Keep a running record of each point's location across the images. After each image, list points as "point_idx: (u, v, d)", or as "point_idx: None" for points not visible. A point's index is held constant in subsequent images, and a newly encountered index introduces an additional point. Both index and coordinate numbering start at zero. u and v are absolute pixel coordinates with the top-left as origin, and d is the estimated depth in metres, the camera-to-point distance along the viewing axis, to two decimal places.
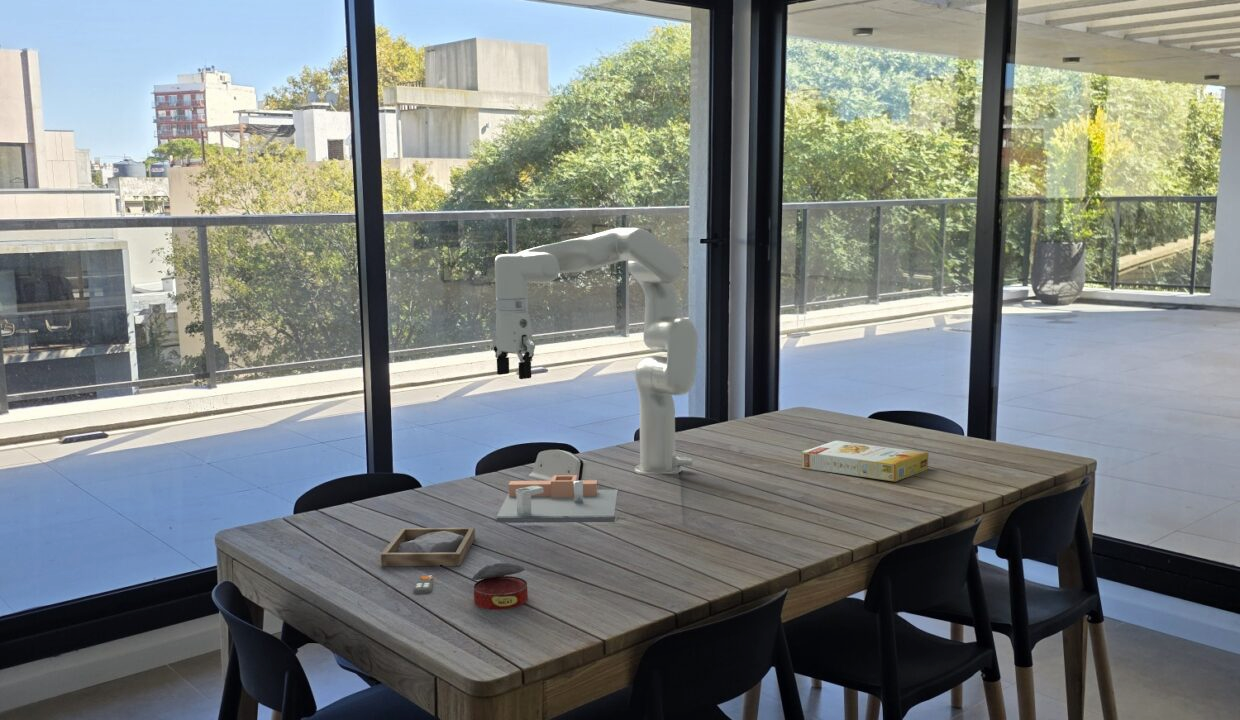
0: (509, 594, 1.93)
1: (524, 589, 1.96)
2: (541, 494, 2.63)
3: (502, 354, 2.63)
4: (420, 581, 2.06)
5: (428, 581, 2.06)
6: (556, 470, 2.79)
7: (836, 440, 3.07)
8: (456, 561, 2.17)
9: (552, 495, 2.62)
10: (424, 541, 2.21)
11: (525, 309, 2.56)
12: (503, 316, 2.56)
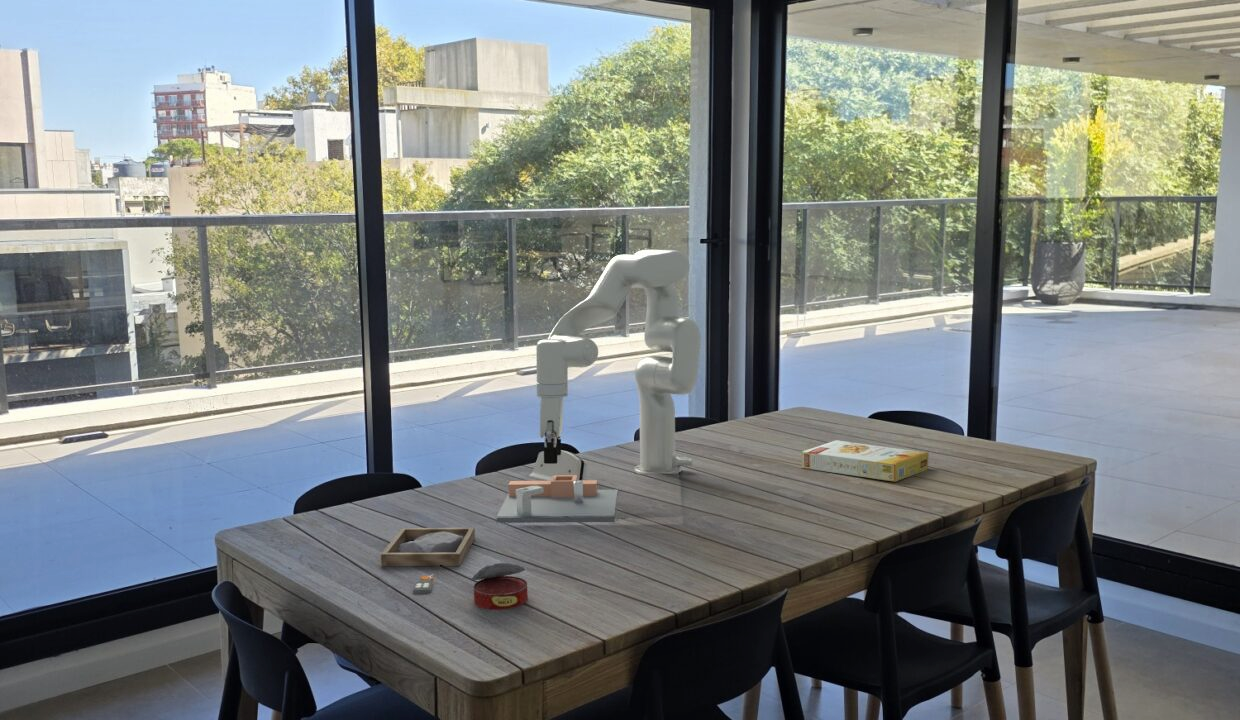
0: (509, 594, 1.93)
1: (524, 589, 1.96)
2: (541, 494, 2.63)
3: None
4: (420, 581, 2.06)
5: (428, 581, 2.06)
6: (557, 470, 2.79)
7: (836, 440, 3.07)
8: (456, 561, 2.17)
9: (552, 495, 2.62)
10: (424, 542, 2.20)
11: None
12: (562, 399, 2.61)
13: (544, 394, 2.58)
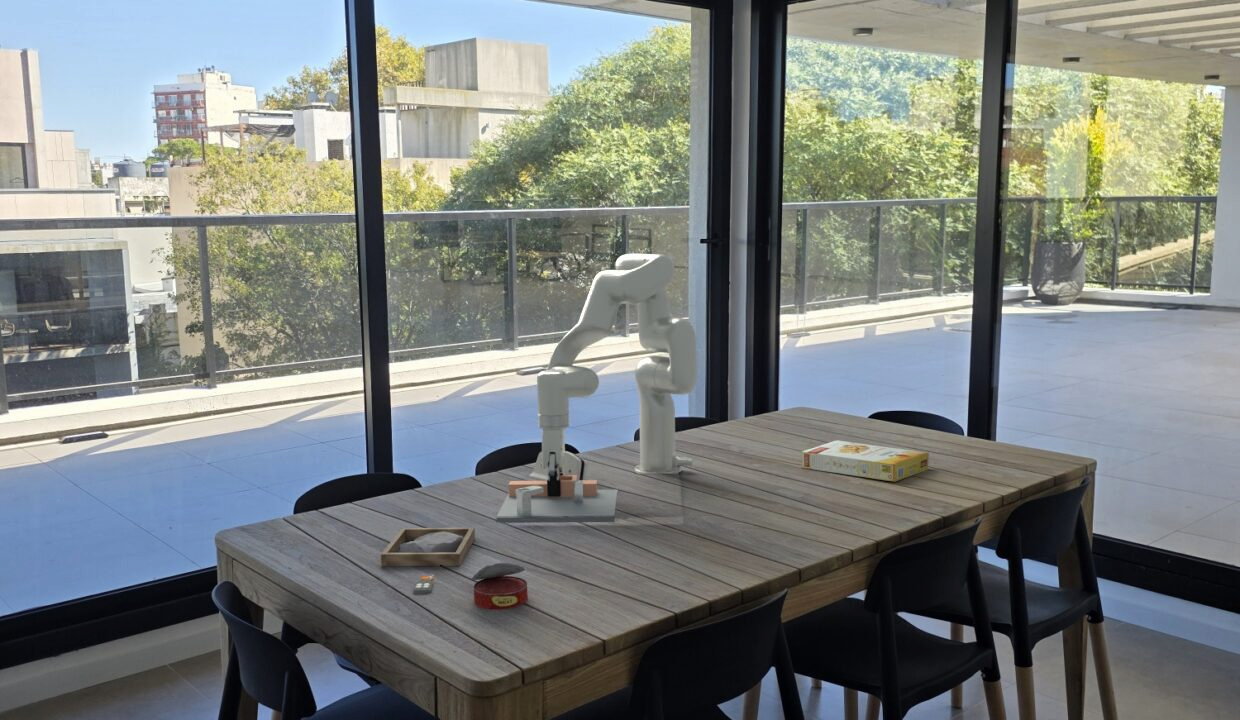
0: (509, 594, 1.93)
1: (524, 589, 1.96)
2: (541, 494, 2.63)
3: None
4: (420, 581, 2.06)
5: (428, 581, 2.06)
6: None
7: (837, 440, 3.07)
8: (456, 561, 2.17)
9: None
10: (424, 542, 2.20)
11: None
12: None
13: (546, 426, 2.59)
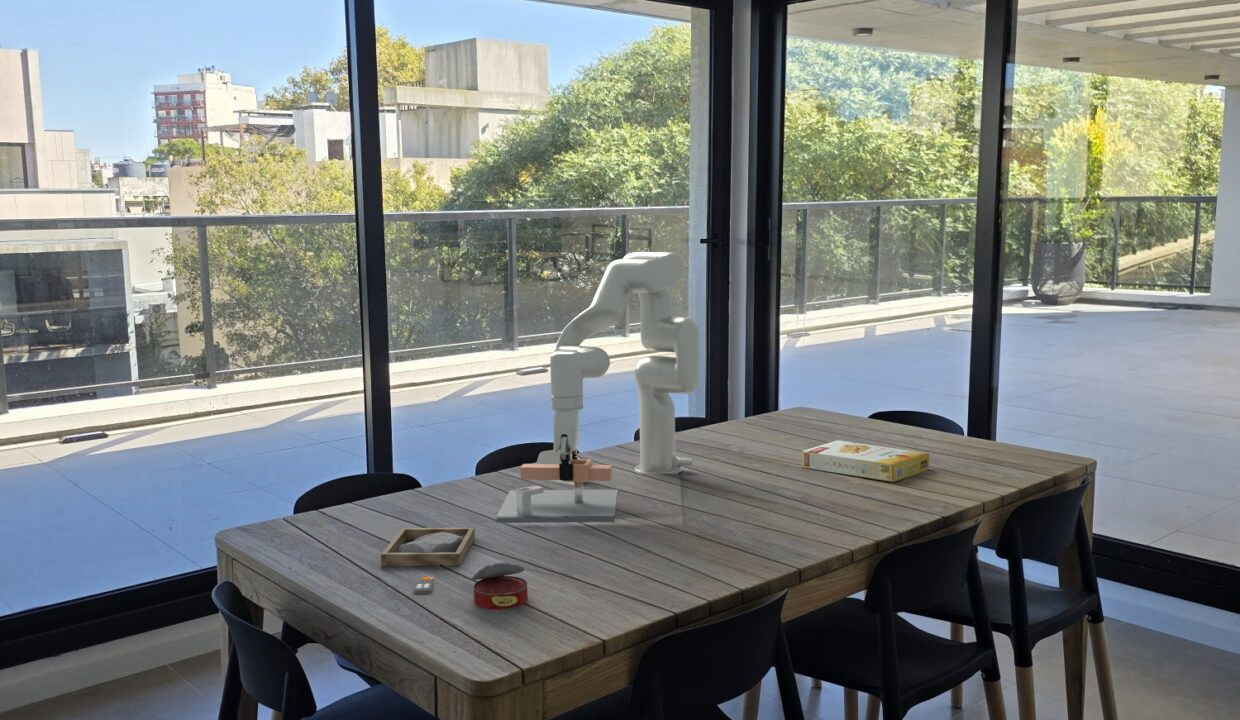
0: (509, 594, 1.93)
1: (524, 589, 1.96)
2: (553, 478, 2.56)
3: None
4: (421, 582, 2.06)
5: (429, 582, 2.06)
6: None
7: (838, 440, 3.07)
8: (456, 561, 2.17)
9: None
10: (425, 542, 2.20)
11: None
12: (578, 412, 2.55)
13: (558, 407, 2.52)
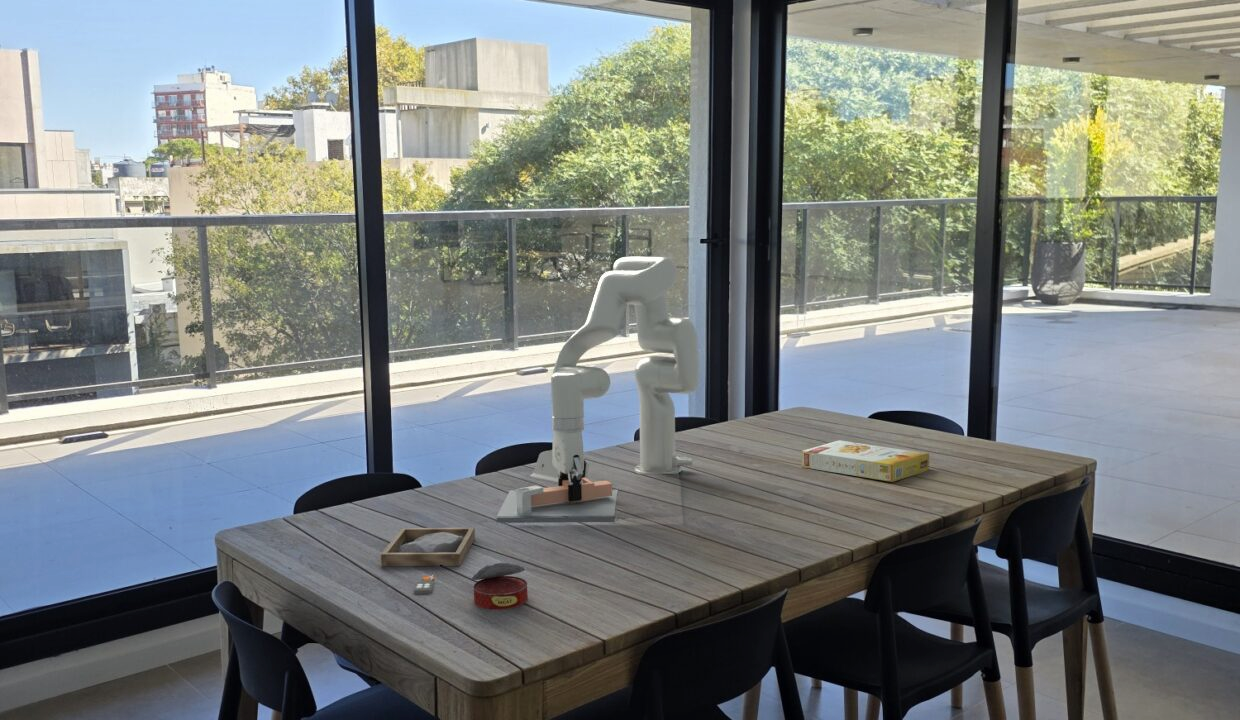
0: (509, 594, 1.93)
1: (524, 589, 1.96)
2: (559, 500, 2.54)
3: None
4: (421, 582, 2.06)
5: (429, 582, 2.06)
6: None
7: (839, 440, 3.07)
8: (456, 561, 2.17)
9: None
10: (425, 542, 2.20)
11: None
12: None
13: (566, 429, 2.51)
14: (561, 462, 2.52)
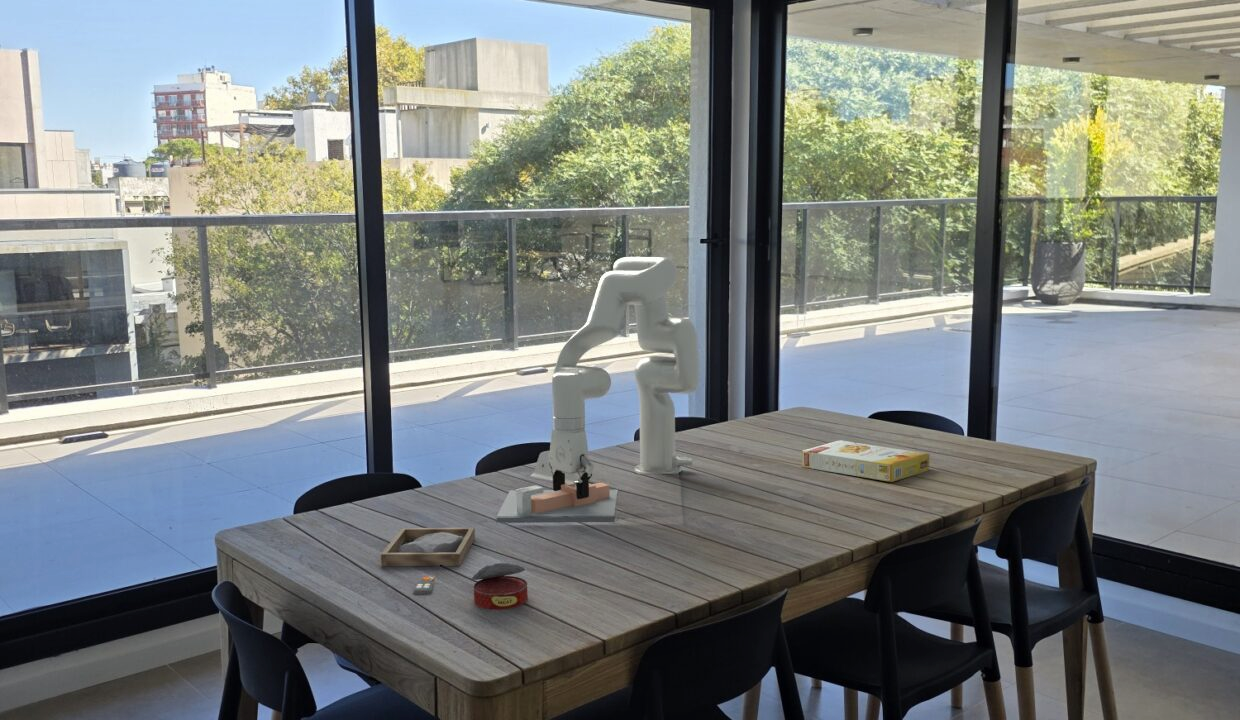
0: (509, 594, 1.93)
1: (524, 589, 1.96)
2: (564, 505, 2.53)
3: None
4: (421, 582, 2.06)
5: (429, 582, 2.06)
6: None
7: (840, 440, 3.07)
8: (456, 561, 2.17)
9: (577, 504, 2.54)
10: (425, 543, 2.20)
11: None
12: None
13: (572, 429, 2.50)
14: (566, 462, 2.51)
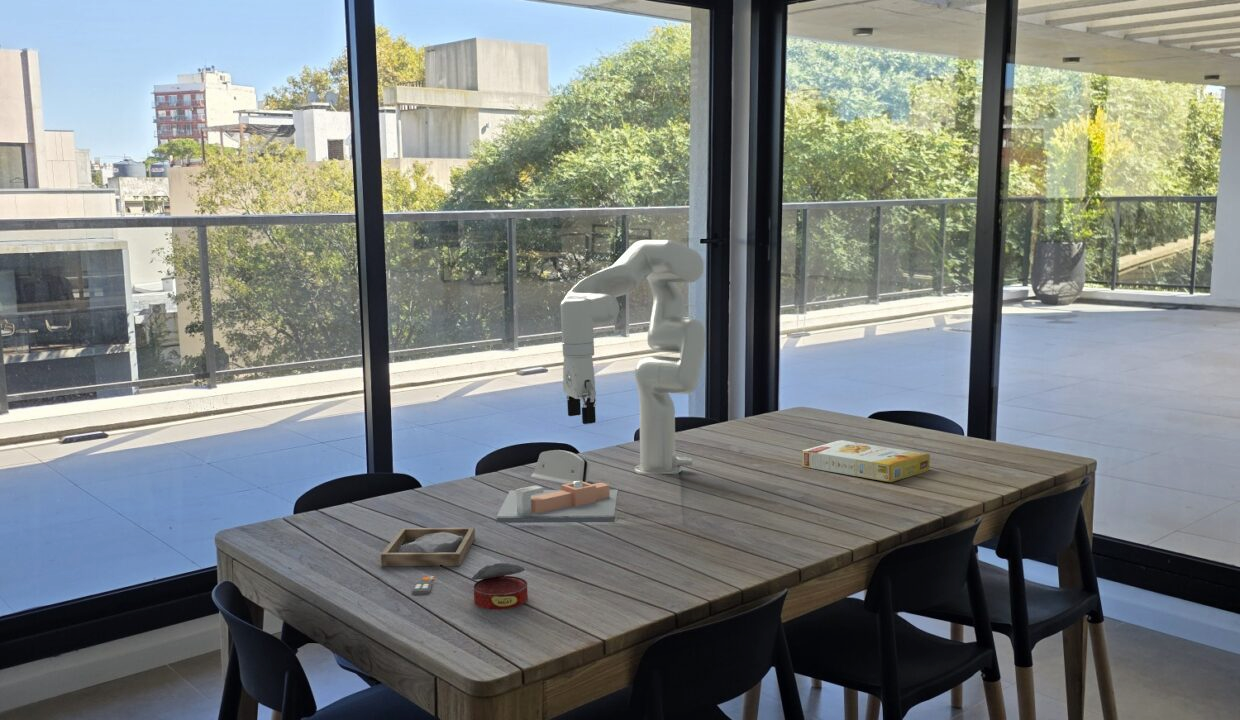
0: (509, 594, 1.93)
1: (524, 589, 1.96)
2: (564, 505, 2.53)
3: None
4: (420, 582, 2.06)
5: (428, 582, 2.05)
6: (559, 470, 2.78)
7: (841, 440, 3.07)
8: (456, 561, 2.17)
9: (577, 504, 2.54)
10: (426, 543, 2.20)
11: None
12: None
13: (577, 354, 2.53)
14: (572, 387, 2.55)
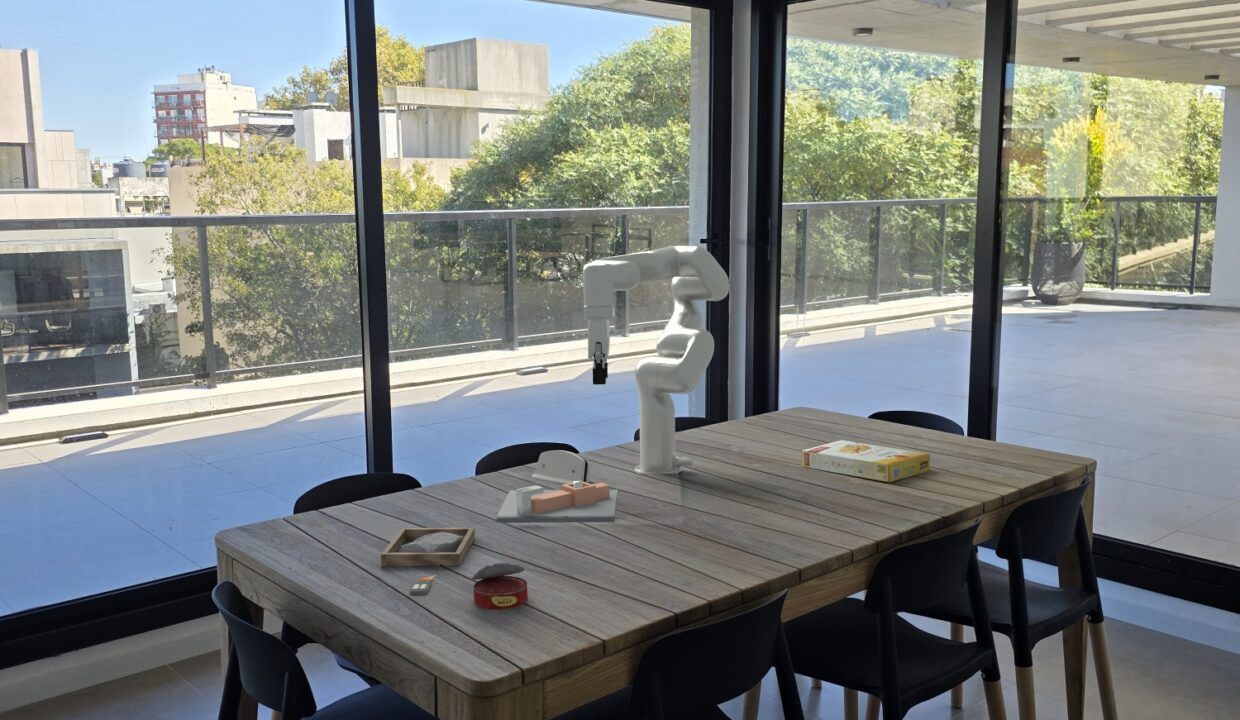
0: (509, 594, 1.93)
1: (524, 589, 1.96)
2: (564, 505, 2.53)
3: None
4: (419, 582, 2.06)
5: (426, 582, 2.05)
6: (560, 470, 2.78)
7: (842, 440, 3.07)
8: (456, 561, 2.17)
9: (577, 504, 2.54)
10: (426, 543, 2.20)
11: None
12: (609, 322, 2.67)
13: (592, 316, 2.63)
14: None
